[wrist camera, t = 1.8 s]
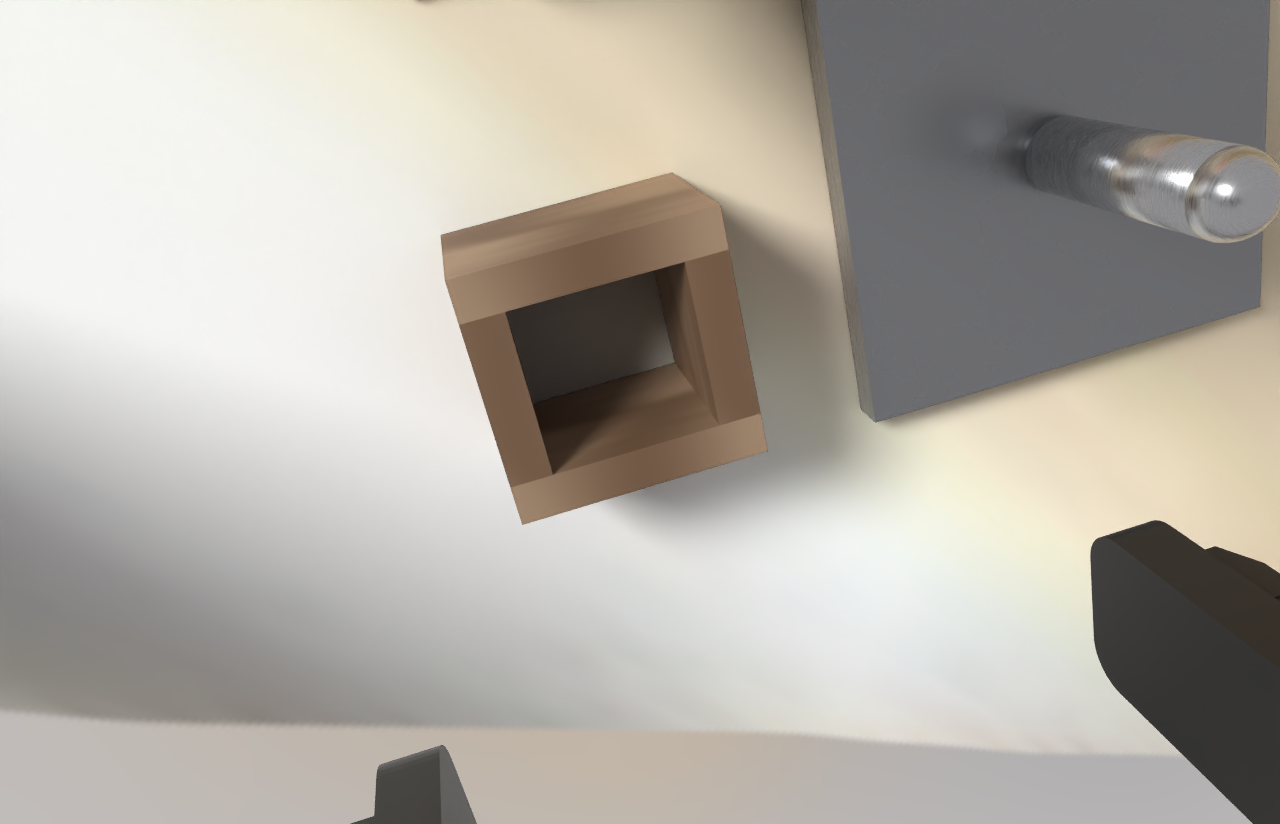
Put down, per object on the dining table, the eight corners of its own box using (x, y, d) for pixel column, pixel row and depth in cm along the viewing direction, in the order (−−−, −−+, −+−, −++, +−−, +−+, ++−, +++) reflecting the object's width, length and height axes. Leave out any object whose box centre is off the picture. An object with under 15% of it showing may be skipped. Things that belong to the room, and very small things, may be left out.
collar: (507, 447, 27) (522, 524, 23) (440, 235, 25) (444, 280, 21) (716, 385, 28) (767, 450, 24) (672, 172, 26) (720, 204, 21)
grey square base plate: (861, 409, 29) (1008, 544, 22) (795, -34, 24) (957, -51, 17) (1234, 297, 30) (1492, 390, 23) (1243, -147, 25) (1574, -209, 18)
